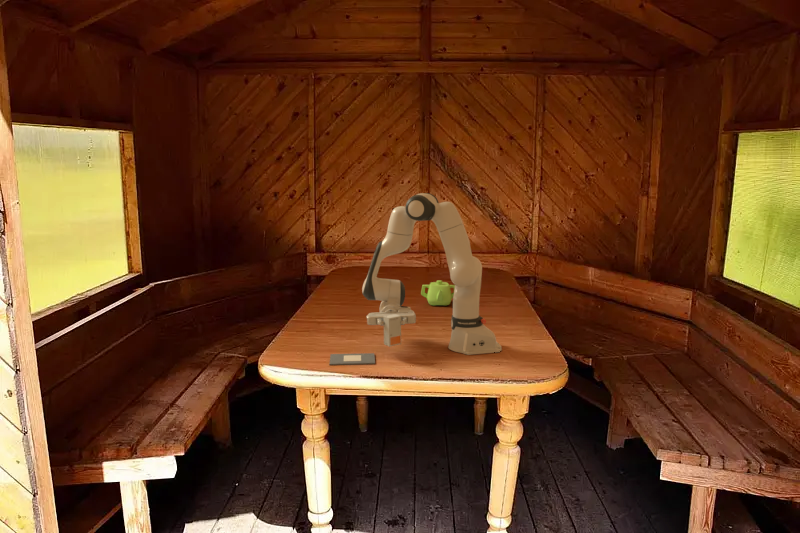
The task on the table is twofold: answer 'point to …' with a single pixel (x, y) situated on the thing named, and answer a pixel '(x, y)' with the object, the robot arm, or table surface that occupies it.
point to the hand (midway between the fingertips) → (392, 323)
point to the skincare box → (392, 330)
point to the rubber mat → (352, 359)
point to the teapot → (438, 293)
